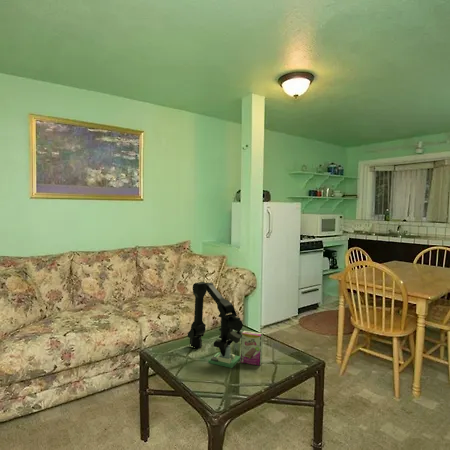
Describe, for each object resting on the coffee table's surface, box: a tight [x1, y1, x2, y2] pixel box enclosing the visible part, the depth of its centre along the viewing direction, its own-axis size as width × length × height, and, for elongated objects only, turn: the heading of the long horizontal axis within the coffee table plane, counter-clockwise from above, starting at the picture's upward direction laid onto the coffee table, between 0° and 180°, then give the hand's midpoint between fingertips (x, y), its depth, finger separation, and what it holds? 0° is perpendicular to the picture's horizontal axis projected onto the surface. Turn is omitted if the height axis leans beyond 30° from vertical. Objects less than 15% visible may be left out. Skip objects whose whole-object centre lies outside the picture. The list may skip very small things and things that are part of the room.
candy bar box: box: [240, 330, 264, 367], centre depth 172 cm, size 11×5×16 cm, turn 71°
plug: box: [220, 344, 232, 359], centre depth 173 cm, size 5×4×6 cm
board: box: [207, 351, 241, 369], centre depth 174 cm, size 14×13×3 cm
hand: (225, 354), depth 173 cm, fingers closed on plug, 4 cm apart
